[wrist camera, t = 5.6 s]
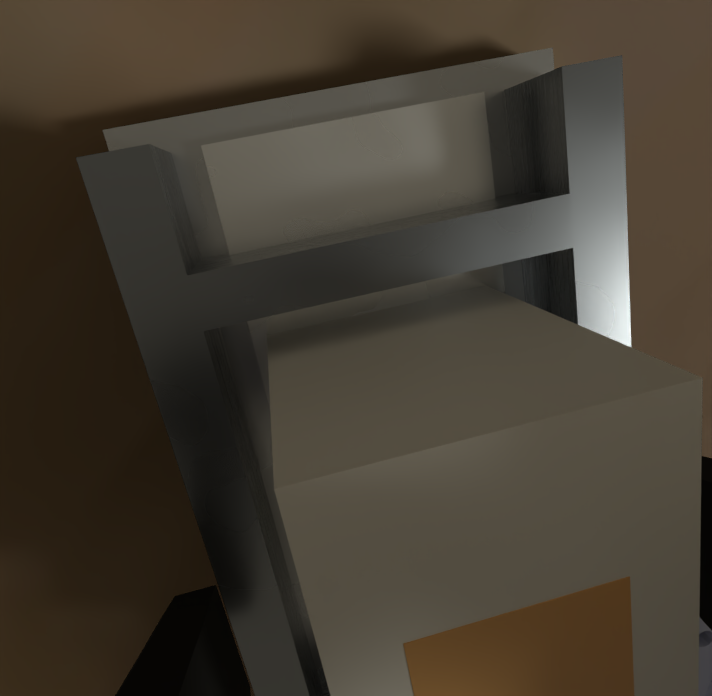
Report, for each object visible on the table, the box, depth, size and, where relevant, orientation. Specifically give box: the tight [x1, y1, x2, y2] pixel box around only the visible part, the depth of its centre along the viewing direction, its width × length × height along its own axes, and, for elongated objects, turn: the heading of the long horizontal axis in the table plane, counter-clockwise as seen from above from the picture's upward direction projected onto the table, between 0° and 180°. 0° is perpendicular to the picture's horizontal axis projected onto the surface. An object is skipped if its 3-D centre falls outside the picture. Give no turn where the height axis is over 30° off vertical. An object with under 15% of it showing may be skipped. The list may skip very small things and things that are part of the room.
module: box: [267, 286, 703, 696], centre depth 8 cm, size 7×4×5 cm, turn 11°
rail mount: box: [76, 48, 631, 696], centre depth 10 cm, size 15×7×3 cm, turn 11°
